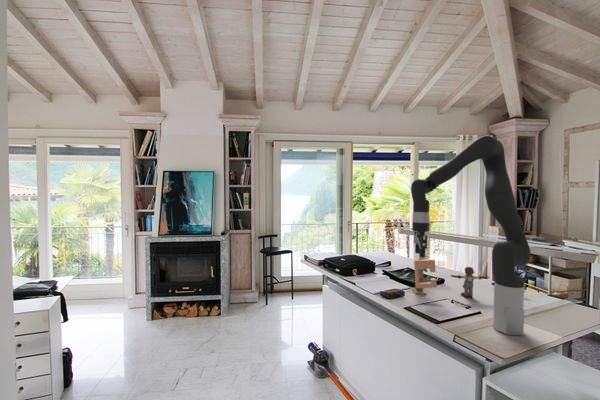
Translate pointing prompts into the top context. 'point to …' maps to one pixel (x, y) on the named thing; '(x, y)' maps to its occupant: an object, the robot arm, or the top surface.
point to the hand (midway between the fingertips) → (419, 255)
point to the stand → (420, 290)
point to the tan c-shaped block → (425, 265)
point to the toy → (468, 281)
